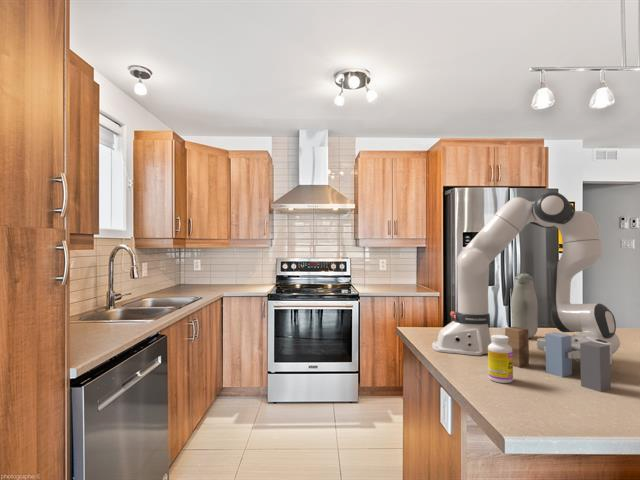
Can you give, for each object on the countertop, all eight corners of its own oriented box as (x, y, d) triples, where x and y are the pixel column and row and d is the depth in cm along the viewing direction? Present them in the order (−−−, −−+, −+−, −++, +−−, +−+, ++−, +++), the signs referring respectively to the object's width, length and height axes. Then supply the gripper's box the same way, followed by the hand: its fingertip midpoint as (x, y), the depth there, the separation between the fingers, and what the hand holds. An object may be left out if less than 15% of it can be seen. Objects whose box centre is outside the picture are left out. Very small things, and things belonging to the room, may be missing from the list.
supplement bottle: (511, 385, 109) (511, 340, 109) (486, 381, 112) (485, 337, 113) (514, 378, 114) (513, 335, 115) (490, 374, 118) (489, 333, 118)
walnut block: (519, 367, 125) (518, 330, 125) (505, 363, 129) (505, 328, 130) (529, 365, 127) (528, 329, 127) (515, 361, 132) (514, 326, 132)
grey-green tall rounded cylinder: (508, 334, 172) (507, 272, 173) (532, 335, 171) (531, 272, 172) (516, 340, 162) (515, 274, 163) (542, 340, 161) (540, 274, 162)
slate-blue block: (562, 377, 115) (561, 337, 116) (546, 372, 120) (545, 333, 120) (572, 374, 118) (571, 335, 118) (555, 370, 122) (554, 332, 122)
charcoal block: (600, 391, 103) (599, 347, 104) (581, 386, 108) (580, 343, 108) (610, 388, 106) (609, 345, 106) (591, 383, 110) (590, 341, 110)
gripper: (550, 331, 134) (525, 335, 128) (617, 344, 116) (591, 349, 110) (551, 349, 134) (525, 354, 128) (618, 365, 116) (592, 372, 110)
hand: (556, 352), depth 119 cm, fingers closed on slate-blue block, 5 cm apart
